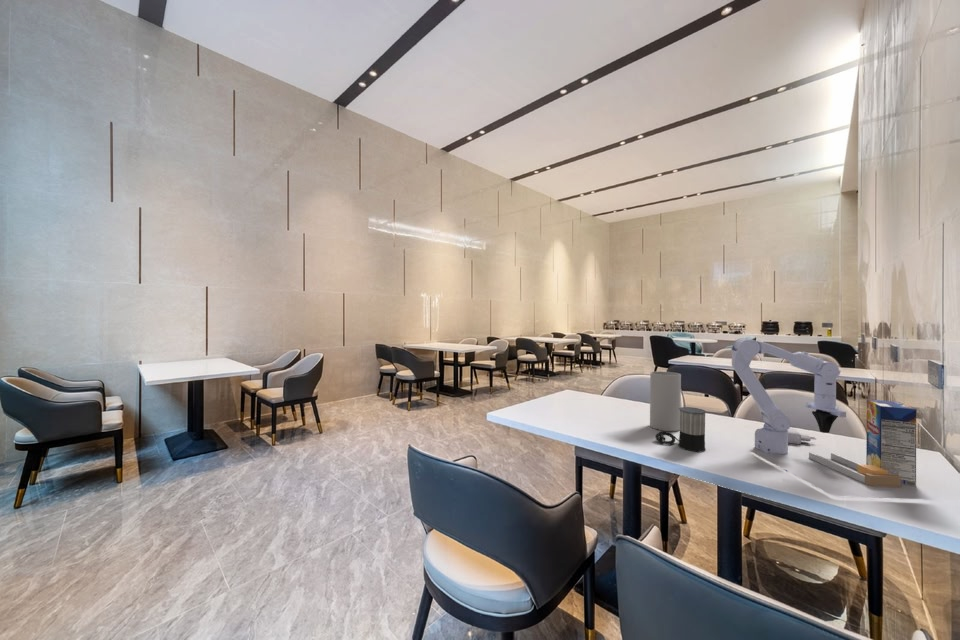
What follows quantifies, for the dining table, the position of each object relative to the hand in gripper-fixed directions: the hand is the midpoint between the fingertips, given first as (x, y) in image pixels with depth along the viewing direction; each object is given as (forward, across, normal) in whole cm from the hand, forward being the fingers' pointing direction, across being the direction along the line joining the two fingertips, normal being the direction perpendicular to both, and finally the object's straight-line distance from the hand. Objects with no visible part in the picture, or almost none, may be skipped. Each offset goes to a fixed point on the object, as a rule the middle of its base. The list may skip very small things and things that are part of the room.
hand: (824, 432), depth 133 cm
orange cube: (+8, -21, +4) cm, 23 cm away
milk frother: (+10, +9, +46) cm, 48 cm away
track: (+9, -14, +4) cm, 17 cm away
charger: (+10, +19, -3) cm, 22 cm away
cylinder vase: (+10, +33, +42) cm, 54 cm away
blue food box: (+10, -17, -6) cm, 20 cm away
